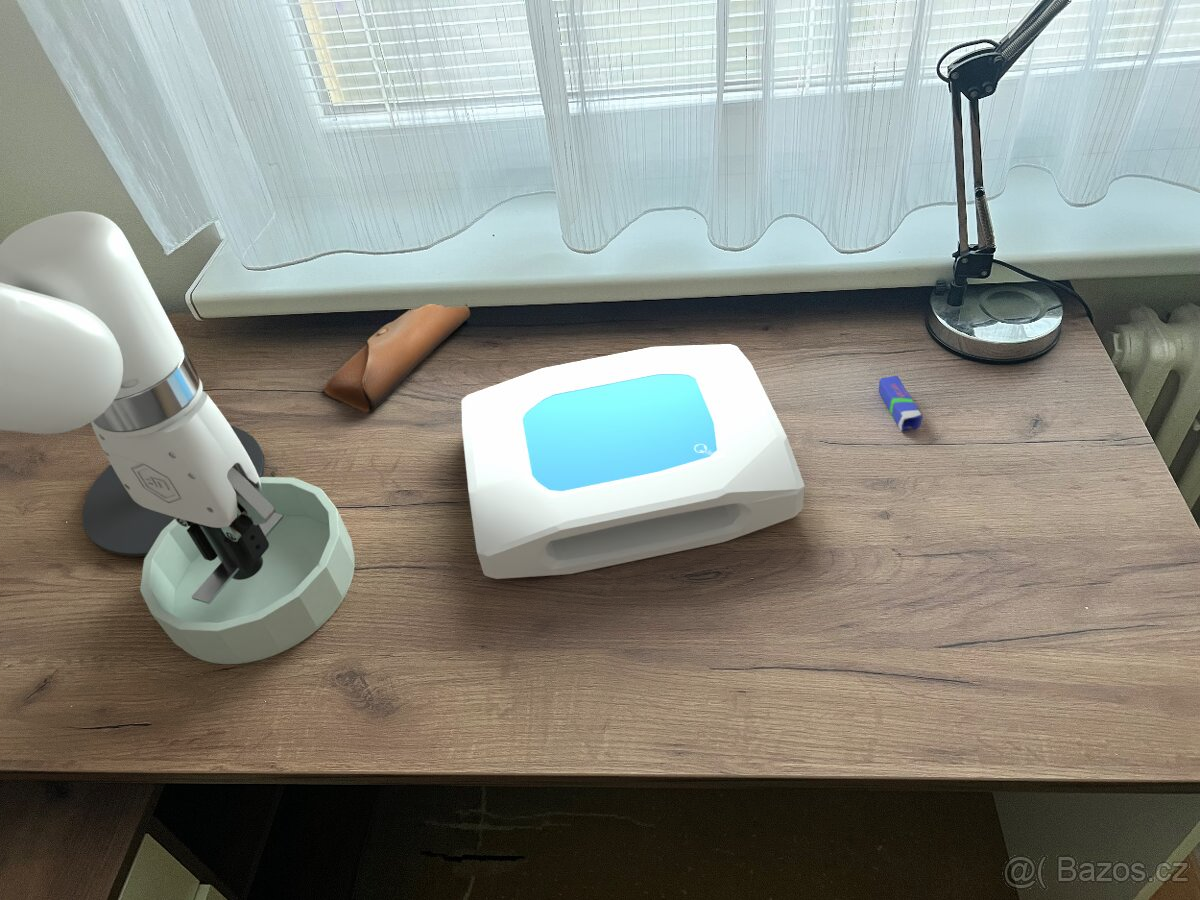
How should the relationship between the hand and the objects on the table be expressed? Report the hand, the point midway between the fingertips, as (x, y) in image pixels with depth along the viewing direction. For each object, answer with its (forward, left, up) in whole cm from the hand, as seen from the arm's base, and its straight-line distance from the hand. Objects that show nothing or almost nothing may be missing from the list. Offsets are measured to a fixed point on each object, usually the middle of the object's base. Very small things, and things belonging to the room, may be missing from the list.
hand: (237, 552), depth 74 cm
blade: (0, 0, -2) cm, 2 cm away
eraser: (+57, -24, -5) cm, 62 cm away
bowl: (0, 0, -5) cm, 5 cm away
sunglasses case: (+25, +20, -5) cm, 33 cm away
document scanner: (+32, -12, -5) cm, 35 cm away
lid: (-2, +17, -4) cm, 18 cm away
